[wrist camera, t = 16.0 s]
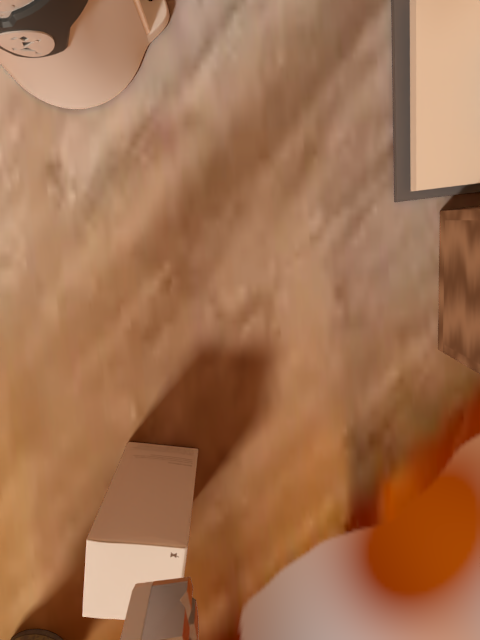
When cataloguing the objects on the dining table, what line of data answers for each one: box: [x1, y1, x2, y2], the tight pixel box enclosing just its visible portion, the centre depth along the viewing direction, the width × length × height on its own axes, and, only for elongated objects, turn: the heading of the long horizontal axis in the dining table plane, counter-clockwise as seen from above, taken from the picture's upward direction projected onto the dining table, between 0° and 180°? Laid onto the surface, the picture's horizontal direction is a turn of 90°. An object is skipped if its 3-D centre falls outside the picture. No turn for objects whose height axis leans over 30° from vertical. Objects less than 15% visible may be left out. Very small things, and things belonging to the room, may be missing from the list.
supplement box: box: [82, 442, 198, 620], centre depth 41 cm, size 9×9×15 cm
